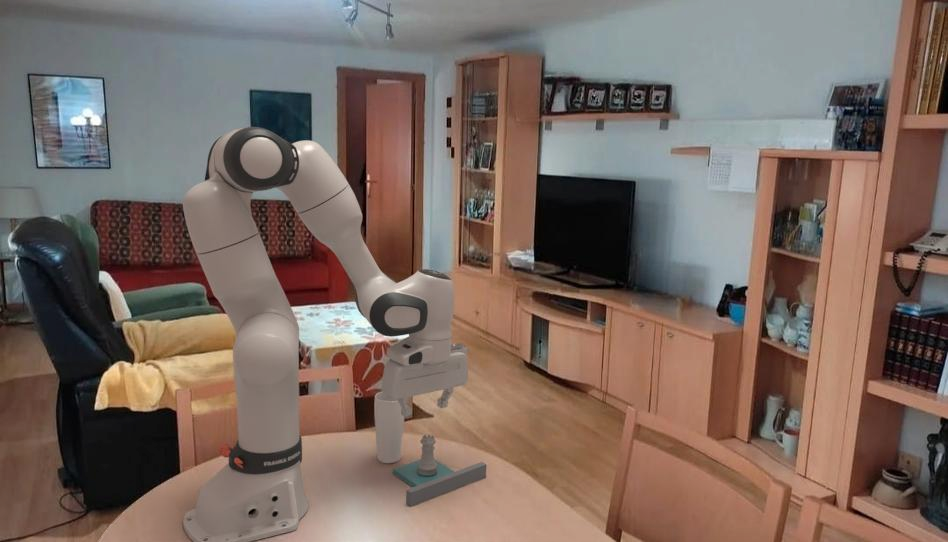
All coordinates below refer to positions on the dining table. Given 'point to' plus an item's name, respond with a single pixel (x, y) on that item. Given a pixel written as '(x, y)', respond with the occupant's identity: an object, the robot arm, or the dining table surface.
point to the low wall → (445, 484)
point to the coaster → (413, 477)
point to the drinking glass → (388, 428)
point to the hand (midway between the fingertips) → (424, 411)
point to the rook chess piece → (427, 457)
